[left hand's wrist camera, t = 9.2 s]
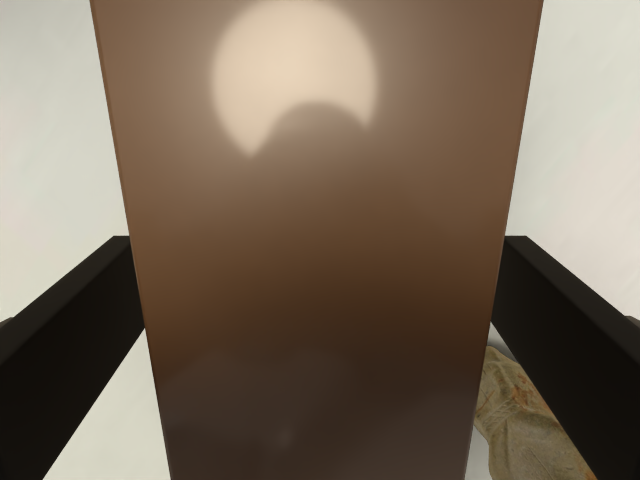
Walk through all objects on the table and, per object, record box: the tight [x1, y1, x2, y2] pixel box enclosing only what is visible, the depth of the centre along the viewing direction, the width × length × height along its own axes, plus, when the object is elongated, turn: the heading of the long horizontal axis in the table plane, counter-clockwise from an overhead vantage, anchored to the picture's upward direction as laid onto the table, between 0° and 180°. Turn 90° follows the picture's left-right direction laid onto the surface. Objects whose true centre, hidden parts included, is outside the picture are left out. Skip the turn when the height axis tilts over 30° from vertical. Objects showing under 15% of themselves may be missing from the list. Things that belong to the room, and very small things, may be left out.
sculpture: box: [474, 346, 597, 480], centre depth 24 cm, size 6×7×15 cm
